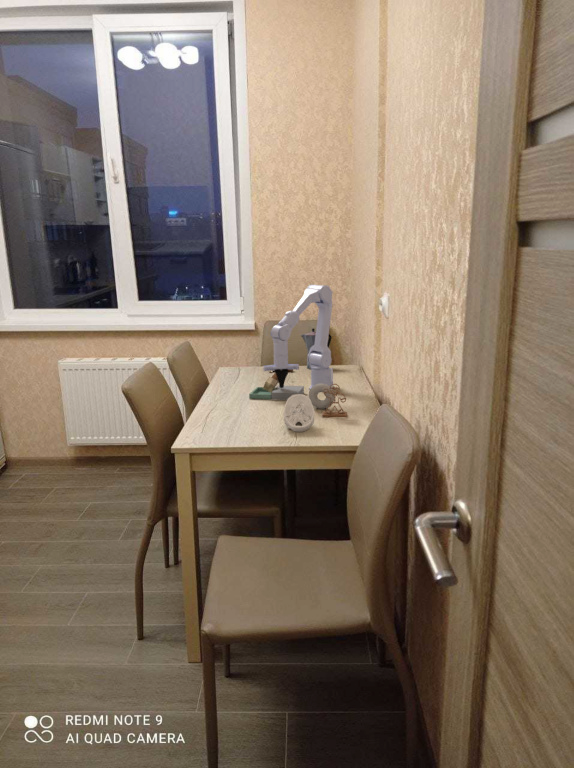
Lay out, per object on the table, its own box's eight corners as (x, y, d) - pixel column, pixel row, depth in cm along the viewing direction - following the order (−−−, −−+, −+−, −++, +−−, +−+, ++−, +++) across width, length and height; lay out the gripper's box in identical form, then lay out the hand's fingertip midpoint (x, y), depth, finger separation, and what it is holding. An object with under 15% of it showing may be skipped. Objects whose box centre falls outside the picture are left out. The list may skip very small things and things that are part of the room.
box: (277, 392, 238) (277, 387, 237) (270, 399, 226) (270, 394, 226) (257, 391, 239) (257, 386, 239) (249, 398, 228) (249, 394, 228)
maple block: (277, 380, 233) (269, 376, 233) (274, 385, 229) (265, 381, 230) (274, 387, 235) (266, 383, 235) (271, 392, 232) (262, 388, 232)
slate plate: (303, 393, 235) (303, 386, 234) (298, 400, 224) (298, 393, 223) (278, 392, 237) (278, 385, 237) (271, 399, 226) (271, 392, 225)
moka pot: (302, 365, 289) (301, 327, 284) (332, 365, 287) (332, 327, 282) (300, 369, 280) (299, 329, 275) (331, 370, 277) (331, 329, 273)
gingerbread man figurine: (346, 414, 205) (347, 382, 202) (346, 417, 201) (347, 385, 198) (322, 414, 205) (322, 382, 203) (322, 417, 202) (322, 385, 199)
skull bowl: (313, 414, 200) (314, 391, 191) (314, 446, 190) (315, 423, 182) (283, 415, 200) (283, 391, 191) (283, 446, 190) (283, 423, 182)
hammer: (281, 386, 248) (293, 372, 277) (280, 379, 247) (293, 365, 276) (255, 386, 250) (270, 371, 279) (255, 379, 250) (270, 365, 278)
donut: (307, 409, 211) (307, 384, 209) (309, 407, 215) (309, 381, 212) (334, 410, 209) (334, 384, 207) (335, 408, 213) (335, 382, 210)
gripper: (296, 352, 232) (297, 384, 235) (262, 353, 230) (262, 385, 233) (299, 355, 225) (300, 388, 228) (263, 357, 223) (264, 390, 226)
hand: (281, 387), depth 230 cm, fingers closed
